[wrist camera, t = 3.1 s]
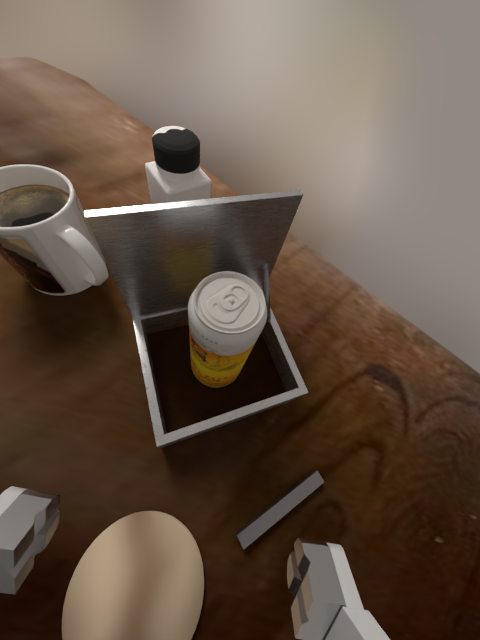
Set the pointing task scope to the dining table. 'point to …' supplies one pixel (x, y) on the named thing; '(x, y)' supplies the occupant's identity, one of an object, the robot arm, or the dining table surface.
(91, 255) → the mug
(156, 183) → the medicine bottle
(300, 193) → the case
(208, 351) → the beer can
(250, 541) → the bar
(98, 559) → the pad
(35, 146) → the dining table surface
